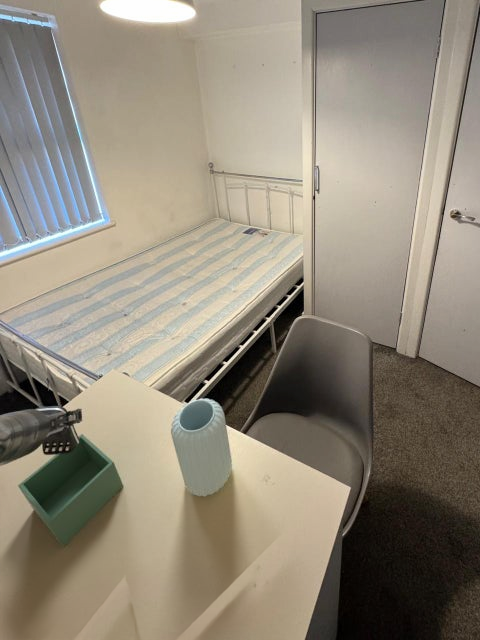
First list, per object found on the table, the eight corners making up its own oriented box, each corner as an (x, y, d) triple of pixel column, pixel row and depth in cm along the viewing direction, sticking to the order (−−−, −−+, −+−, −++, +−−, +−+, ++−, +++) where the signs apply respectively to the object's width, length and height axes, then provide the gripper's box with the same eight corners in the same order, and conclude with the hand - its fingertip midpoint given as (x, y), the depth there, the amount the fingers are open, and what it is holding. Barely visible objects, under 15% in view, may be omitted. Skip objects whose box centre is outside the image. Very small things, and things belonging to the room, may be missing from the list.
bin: (33, 509, 73) (17, 485, 69) (92, 457, 84) (82, 433, 80) (63, 547, 67) (48, 523, 63) (123, 486, 77) (113, 462, 73)
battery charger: (38, 459, 68) (17, 423, 63) (49, 442, 71) (31, 406, 67) (72, 457, 68) (54, 421, 63) (82, 440, 72) (66, 404, 67)
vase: (178, 472, 80) (161, 412, 71) (219, 442, 87) (209, 384, 77) (197, 514, 72) (180, 452, 63) (241, 478, 79) (232, 417, 69)
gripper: (60, 398, 57) (90, 393, 72) (-43, 428, 52) (11, 416, 67) (63, 444, 55) (92, 430, 70) (-45, 480, 50) (11, 456, 65)
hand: (52, 423), depth 68 cm, fingers closed on battery charger, 7 cm apart
